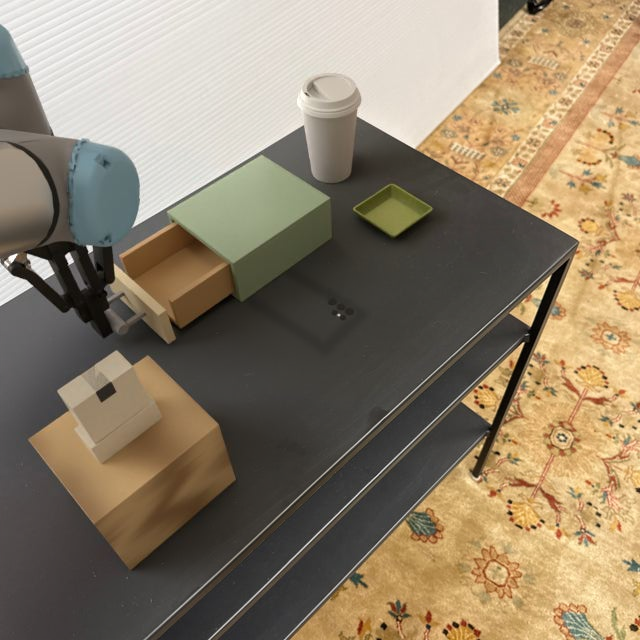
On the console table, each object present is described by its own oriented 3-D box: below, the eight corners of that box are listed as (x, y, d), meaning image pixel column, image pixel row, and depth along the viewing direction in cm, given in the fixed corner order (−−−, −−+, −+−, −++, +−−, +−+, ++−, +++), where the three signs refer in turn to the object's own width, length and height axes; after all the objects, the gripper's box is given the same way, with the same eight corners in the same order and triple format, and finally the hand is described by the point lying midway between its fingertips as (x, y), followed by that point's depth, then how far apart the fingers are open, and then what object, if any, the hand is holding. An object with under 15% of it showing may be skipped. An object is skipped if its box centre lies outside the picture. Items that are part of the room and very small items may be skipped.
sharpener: (101, 464, 60) (68, 414, 53) (84, 444, 61) (50, 392, 54) (162, 418, 63) (139, 364, 56) (145, 399, 64) (120, 345, 57)
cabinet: (241, 302, 88) (233, 263, 82) (177, 251, 95) (166, 211, 89) (332, 237, 96) (330, 197, 90) (267, 194, 103) (261, 154, 97)
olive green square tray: (351, 218, 98) (351, 208, 97) (391, 192, 102) (391, 182, 100) (393, 247, 94) (393, 236, 92) (433, 218, 97) (434, 208, 96)
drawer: (140, 364, 81) (128, 335, 77) (84, 308, 87) (70, 278, 83) (264, 276, 90) (260, 246, 85) (205, 231, 96) (198, 201, 92)
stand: (130, 570, 66) (93, 524, 56) (69, 492, 71) (27, 439, 62) (236, 479, 72) (219, 424, 62) (172, 414, 77) (147, 354, 68)
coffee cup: (299, 156, 109) (293, 73, 97) (356, 150, 109) (356, 67, 97) (305, 192, 103) (299, 108, 91) (364, 186, 103) (366, 101, 91)
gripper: (-11, 233, 60) (73, 377, 78) (108, 168, 65) (161, 317, 84) (-46, 197, 64) (43, 343, 82) (70, 139, 69) (129, 287, 87)
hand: (102, 329), depth 83 cm, fingers closed
